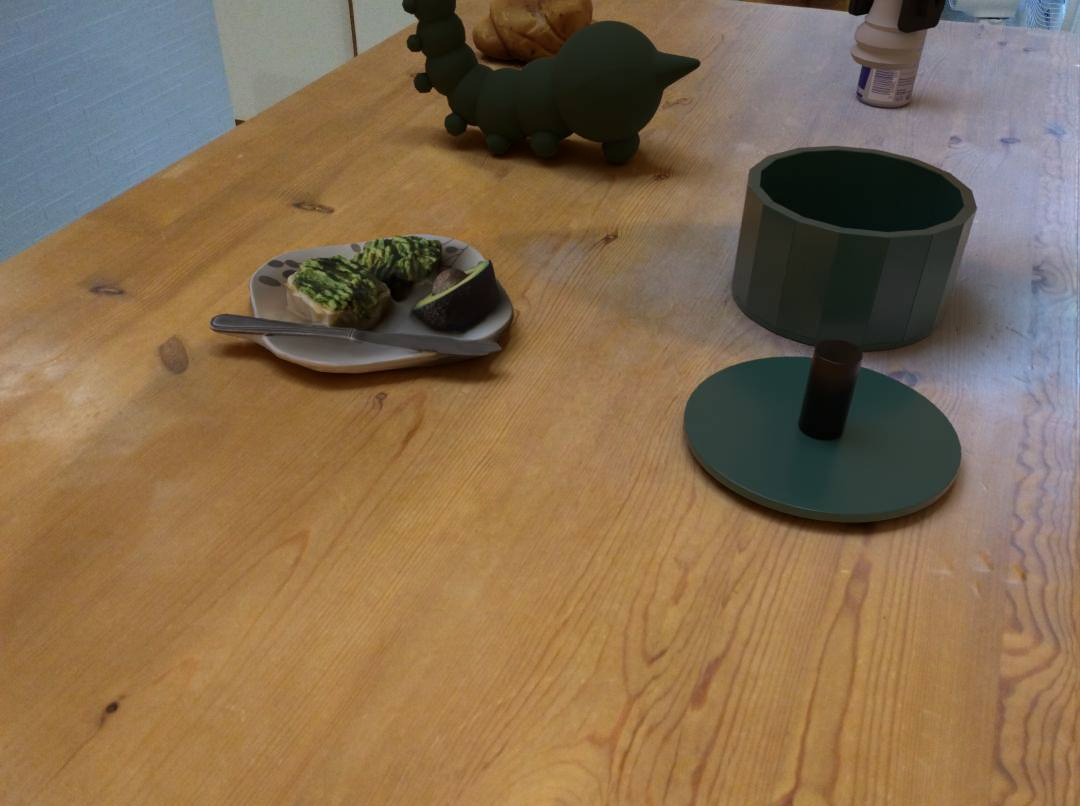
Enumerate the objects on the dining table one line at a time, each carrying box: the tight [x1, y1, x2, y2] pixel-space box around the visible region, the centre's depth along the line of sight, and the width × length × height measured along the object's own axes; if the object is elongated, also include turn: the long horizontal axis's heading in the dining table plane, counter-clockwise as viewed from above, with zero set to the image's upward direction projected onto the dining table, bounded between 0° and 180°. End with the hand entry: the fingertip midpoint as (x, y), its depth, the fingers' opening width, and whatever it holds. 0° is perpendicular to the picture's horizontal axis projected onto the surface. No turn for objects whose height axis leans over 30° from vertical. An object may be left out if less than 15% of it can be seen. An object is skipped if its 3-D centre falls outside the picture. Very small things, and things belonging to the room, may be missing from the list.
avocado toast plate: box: [209, 233, 515, 374], centre depth 69 cm, size 19×18×5 cm
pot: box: [731, 145, 978, 352], centre depth 72 cm, size 15×15×8 cm
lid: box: [682, 340, 962, 523], centre depth 59 cm, size 16×16×6 cm
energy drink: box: [855, 29, 929, 109], centre depth 103 cm, size 5×5×12 cm
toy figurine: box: [401, 0, 701, 165], centre depth 88 cm, size 9×19×25 cm
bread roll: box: [471, 0, 594, 63], centre depth 112 cm, size 13×10×8 cm
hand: (892, 17), depth 67 cm, fingers closed on rook chess piece, 3 cm apart
